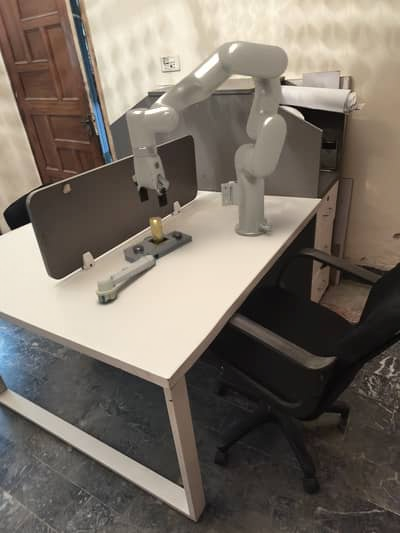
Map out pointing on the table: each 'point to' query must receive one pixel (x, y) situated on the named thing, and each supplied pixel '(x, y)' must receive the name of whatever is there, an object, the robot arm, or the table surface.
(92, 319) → the table surface
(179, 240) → the plate
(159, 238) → the brass pin
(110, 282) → the toothbrush head
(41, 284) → the table surface
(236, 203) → the hinge
